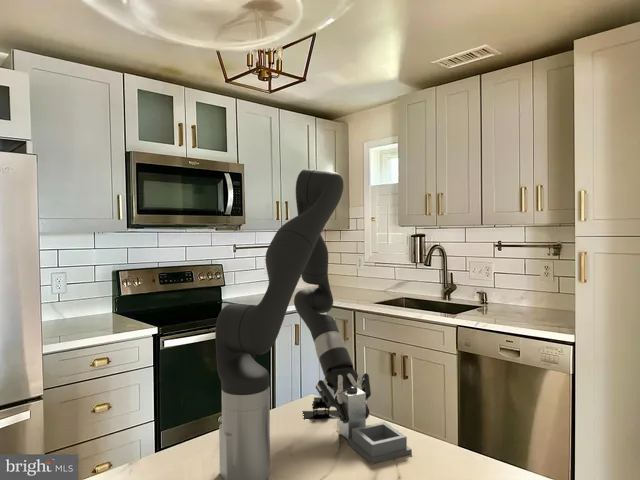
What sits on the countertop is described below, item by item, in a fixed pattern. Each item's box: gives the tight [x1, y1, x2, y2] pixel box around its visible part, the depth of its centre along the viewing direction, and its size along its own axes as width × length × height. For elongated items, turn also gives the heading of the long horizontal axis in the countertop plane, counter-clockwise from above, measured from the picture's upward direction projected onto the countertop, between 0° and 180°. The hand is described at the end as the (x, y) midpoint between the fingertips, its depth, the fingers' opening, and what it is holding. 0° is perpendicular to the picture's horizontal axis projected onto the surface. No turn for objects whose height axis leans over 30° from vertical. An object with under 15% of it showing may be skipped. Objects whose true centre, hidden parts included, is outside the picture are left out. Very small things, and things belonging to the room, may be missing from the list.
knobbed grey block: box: [338, 385, 367, 440], centre depth 107 cm, size 4×4×11 cm
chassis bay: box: [347, 421, 413, 465], centre depth 100 cm, size 10×10×4 cm
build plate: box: [302, 396, 339, 421], centre depth 119 cm, size 12×7×5 cm, turn 94°
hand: (356, 419), depth 105 cm, fingers closed on knobbed grey block, 4 cm apart
